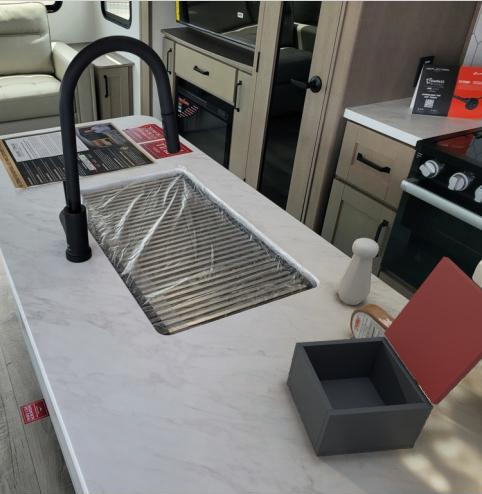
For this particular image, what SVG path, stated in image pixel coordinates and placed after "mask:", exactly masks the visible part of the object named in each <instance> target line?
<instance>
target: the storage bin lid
mask: <svg viewBox="0 0 482 494" xmlns="http://www.w3.org/2000/svg"><path fill="white" fill-rule="evenodd" d="M394 318H395V320H394V321H393V322H392V324H391V325H390V326H389V327H388V329H387V330H386V331H385V332H384V335H385V336H386V338H387V339H388V341H389V342H390V343H391V345H392V346H393V348H394V349H395V351H396V352H397V354H398V355H399V356H400V358H401V359H402V361H403V362H404V364H405V365H406V367H407V368H408V369H409V371H410V372H411V374H412V375H413V377H414V378H415V379H416V381H417V382H418V384H419V387H420V388H421V390H422V391H423V393H424V394H425V395H426V397H427V398H428V400H429V401H430V403H431V404H432V405H435V406H438V405H439V404H440V403H441V402H442V401H443V400H444V399H445V398H446V397H447V396H448V395H449V394H450V393H451V392H453V390H454V389H455V388H456V387H457V386H458V384H460V383H461V381H462V380H463V379H464V378H465V377H466V376H468V374H469V373H471V371H472V370H473V369H475V367H476V366H477V365H478V364H479V363H480V362H481V361H482V288H481V287H480V286H479V285H477V284H476V283H475V282H474V281H473V279H472V278H470V277H469V276H468V275H467V274H466V273H465V272H464V271H463V270H462V269H461V268H460V267H459V266H458V265H457V264H456V263H455V262H453V260H451V259H450V258H449V257H447V256H443V257H442V258H441V259H440V260H439V262H438V263H437V264H436V266H435V267H434V268H433V270H432V271H431V272H430V273H429V275H428V276H427V277H426V278H425V280H424V281H423V282H422V284H421V285H420V287H419V288H418V289H417V290H416V292H415V293H414V294H413V295H412V296H411V298H410V299H409V300H408V302H407V303H406V304H405V306H404V307H403V308H402V309H401V311H399V313H398V315H397V316H396V317H394Z"/></svg>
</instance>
